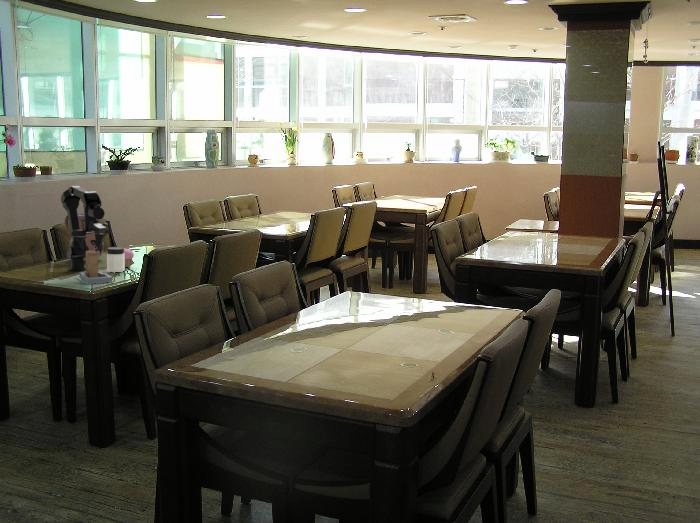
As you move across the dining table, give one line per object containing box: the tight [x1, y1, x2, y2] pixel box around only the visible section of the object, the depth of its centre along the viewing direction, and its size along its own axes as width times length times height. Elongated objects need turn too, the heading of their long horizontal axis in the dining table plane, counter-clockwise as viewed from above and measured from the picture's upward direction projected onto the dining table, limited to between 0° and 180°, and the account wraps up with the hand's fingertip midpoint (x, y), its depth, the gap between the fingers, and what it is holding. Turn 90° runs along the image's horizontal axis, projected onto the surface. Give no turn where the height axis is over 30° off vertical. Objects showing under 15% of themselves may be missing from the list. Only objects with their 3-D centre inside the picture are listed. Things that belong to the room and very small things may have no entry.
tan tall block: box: [85, 251, 99, 278], centre depth 377 cm, size 6×4×12 cm, turn 34°
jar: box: [106, 246, 126, 274], centre depth 398 cm, size 9×8×12 cm
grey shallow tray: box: [75, 270, 115, 285], centre depth 375 cm, size 18×13×2 cm
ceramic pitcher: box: [64, 213, 105, 262], centre depth 428 cm, size 18×21×25 cm
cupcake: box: [124, 248, 135, 268], centre depth 410 cm, size 9×9×10 cm
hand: (91, 249), depth 384 cm, fingers open, 9 cm apart
